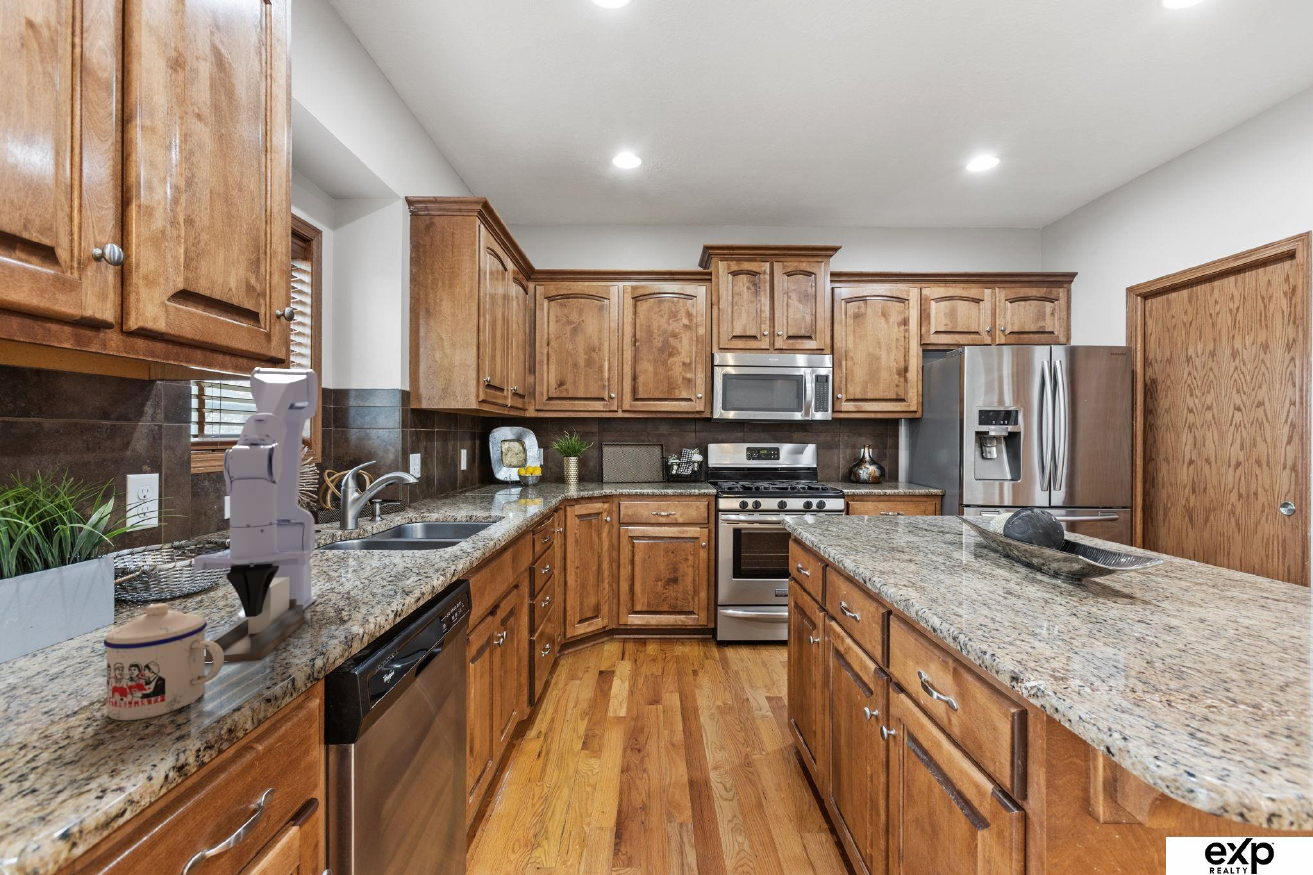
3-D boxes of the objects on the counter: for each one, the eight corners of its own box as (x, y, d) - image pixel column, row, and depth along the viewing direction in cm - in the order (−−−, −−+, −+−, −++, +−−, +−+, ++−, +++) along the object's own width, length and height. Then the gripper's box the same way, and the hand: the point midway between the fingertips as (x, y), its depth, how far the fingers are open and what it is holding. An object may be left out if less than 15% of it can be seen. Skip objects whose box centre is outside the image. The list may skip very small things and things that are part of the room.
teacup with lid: (79, 723, 61) (79, 618, 61) (152, 686, 71) (151, 594, 70) (191, 722, 62) (190, 617, 62) (249, 685, 71) (248, 593, 71)
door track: (257, 625, 93) (257, 601, 93) (304, 621, 94) (304, 598, 94) (203, 663, 77) (203, 635, 77) (260, 659, 79) (260, 631, 79)
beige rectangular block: (248, 633, 85) (248, 587, 86) (268, 620, 92) (269, 577, 92) (270, 632, 86) (270, 586, 86) (289, 618, 93) (289, 576, 93)
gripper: (181, 530, 79) (181, 627, 79) (296, 526, 82) (296, 619, 82) (209, 523, 85) (209, 612, 85) (314, 520, 89) (314, 605, 89)
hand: (253, 614), depth 84 cm, fingers closed, pressing on beige rectangular block
